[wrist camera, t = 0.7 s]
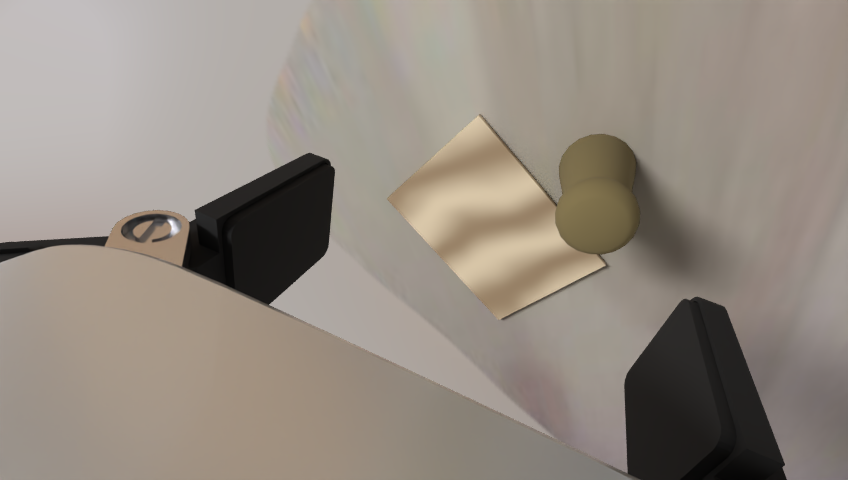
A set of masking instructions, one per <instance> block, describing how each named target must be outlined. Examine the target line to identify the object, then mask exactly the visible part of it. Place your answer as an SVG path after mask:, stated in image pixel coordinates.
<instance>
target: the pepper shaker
mask: <svg viewBox="0 0 848 480" xmlns="http://www.w3.org/2000/svg"><path fill="white" fill-rule="evenodd" d="M635 173H636V160H635V157H634V154H633V151H632V150H631V149H630V148H629V146H628V145H627V144H626V143H625V142H623V141H622V140H620V139H618V138H617V137H614V136H610V135H605V134H597V135H589V136H587V137H584V138H581V139H579V140H577V141H576V142H575V143H573V144H572V145H571V146H569V148H568V149H567V150H566V152H565V153H564V154H563V156H562V159H561V162H560V165H559V177H560V183H561V188H562V194H563V195H562V196H561V198H560V199H559V202H558V205H557V208H556V211H555V224H556V227H557V229H558V231H559V234H560V236H561V238H562V239H563V240H564V241H565V242H566V243H567V244H568V245H569V246H570V247H572V248H574V249H575V250H577V251H580V252H583V253H587V254H601V255H602V254H606V253H610V252H614V251H616V250H618V249H620V248H622V247H623V246H625V245H626V244H627V243H628V242H629V241H630V240H631V239H632V238H633V236H634V234H635V232H636V230H637V228H638V226H639V223H640V209H639V206H638V203H637V200H636V197H635V196H634V195H633V193H632V188H633V183H634V178H635Z"/></svg>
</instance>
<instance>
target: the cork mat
mask: <svg viewBox="0 0 848 480" xmlns="http://www.w3.org/2000/svg"><path fill="white" fill-rule="evenodd" d="M387 200H388V201H389V202H390V203H391V204H392V205H393V206H394V207H395V208H396V209H397V210H398V211H399V213H400V214H401V215H402V216H403V217H404V218H405V219H406V220H407V221H408V222H409V223H410V225H411V226H412V227H413V228H414V229H415V230H416V231H417V232H418V233H419V234H420V235H421V236H422V238H423V239H424V240H425V241H426V242H427V243H428V244H429V245H430V246H431V247H432V248H433V249H434V251H435V252H436V253H437V254H438V255H439V256H440V257H441V258H442V259H443V260H444V261H445V262H446V264H447V265H448V266H449V267H450V268H451V269H452V270H453V271H454V272H455V273H456V274H457V275H458V277H459V278H460V279H461V280H462V281H463V282H464V283H465V284H466V285H467V286H468V287H469V288H470V290H471V291H472V292H473V293H474V294H475V295H476V296H477V297H478V298H479V299H480V300H481V301H482V303H483V304H484V305H485V306H486V307H487V308H488V309H489V310H490V311H491V312H492V313H493V314H494V316H495V317H496V318H497V319H498V320H500V319H502V318H504V317H506V316H508V315H509V314H511V313H513V312H515V311H517V310H519V309H521V308H523V307H525V306H527V305H529V304H531V303H533V302H535V301H537V300H539V299H541V298H543V297H545V296H547V295H549V294H551V293H553V292H555V291H557V290H559V289H560V288H562V287H564V286H566V285H568V284H570V283H572V282H574V281H576V280H578V279H580V278H582V277H584V276H586V275H588V274H590V273H592V272H594V271H596V270H598V269H600V268H602V267H604V266H606V263H605V261H604V260H603V259H602V258H601V257H600V255H599V254H587V253H583V252H580V251H577V250H575V249H574V248H572V247H570V246H569V245H568V244H567V243H566V242H565V241H564V240H563V239H562V238H561V236H560V234H559V231H558V229H557V227H556V224H555V211H556V208H557V205H556V203H555V202H554V201H553V200H552V199H551V198H550V196H549V195H548V194H547V193H546V192H545V190H544V189H543V188H542V187H541V186H540V185H539V183H538V182H537V181H536V180H535V179H534V177H533V176H532V175H531V174H530V173H529V172H528V170H527V169H526V168H525V167H524V166H523V164H522V163H521V162H520V161H519V160H518V158H517V157H516V156H515V155H514V154H513V153H512V151H511V150H510V149H509V148H508V147H507V145H506V144H505V143H504V142H503V141H502V140H501V138H500V137H499V136H498V135H497V134H496V132H495V131H494V130H493V129H492V128H491V127H490V125H489V124H488V123H487V122H486V121H485V119H484V118H483V117H482V116H481V115H480V114H479V115H478V116H477V117H476V118H475V119H474V120H473V121H472V122H471V123H470V124H468V125H467V126H466V127H465V128H464V129H463V130H462V131H461V132H460V133H459V134H457V135H456V136H455V137H454V138H453V139H452V140H451V141H450V142H449V143H448V144H446V145H445V146H444V147H443V148H442V149H441V150H440V151H439V152H438V153H437V154H435V155H434V156H433V157H432V158H431V159H430V160H429V161H428V162H427V163H426V164H424V165H423V166H422V167H421V168H420V169H419V170H418V171H417V172H416V173H415V174H413V175H412V176H411V177H410V178H409V179H408V180H407V181H406V182H405V183H404V184H402V185H401V186H400V187H399V188H398V189H397V190H396V191H395V192H394V193H393V194H391V195H390V196H389V197H388V198H387Z"/></svg>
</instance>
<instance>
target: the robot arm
mask: <svg viewBox="0 0 848 480" xmlns="http://www.w3.org/2000/svg"><path fill="white" fill-rule="evenodd" d="M334 176H335V170H334V168H333V167H332V166H331V164H330V161H329V160H328V159H325V158H323V157H320V156H317V155H314V154H312V153H307V154H305V155H303V156H301V157H299V158H297V159H295V160H293V161H291V162H289V163H287V164H285V165H283V166H281V167H279V168H277V169H275V170H273V171H272V172H270V173H267V174H265V175H264V176H262V177H260V178H258V179H256V180H254V181H252V182H250V183H248V184H246V185H244V186H242V187H240V188H238V189H236V190H234V191H232V192H230V193H228V194H226V195H224V196H222V197H220V198H218V199H216V200H214V201H212V202H210V203H208V204H206V205H204V206H202V207H200V208H198V209H196V210H195V215H196V219H195V220H193V221H191V222H189V221H188V220H187V219H186V218H185V217H184V216H182V215H180V214H178V213H175V212H171V211H163V210H153V211H144V212H139V213H135V214H132V215H130V216H127V217H125V218H123V219H122V220H120V221H118V222H117V223H116V224H115V226H114V227H113V228H112V231H111V233H110V235H109V236H107V237H89V238H71V239H54V240H37V241H20V242H5V243H0V480H787V479H786V476H785V474H784V471H783V468H782V467H783V466H784V465H785V463H784V461H783V458H782V455H781V453H780V450H779V448H778V445H777V442H776V440H775V437H774V434H773V432H772V429H771V426H770V424H769V421H768V419H767V416H766V413H765V411H764V408H763V405H762V403H761V400H760V397H759V395H758V392H757V389H756V387H755V384H754V382H753V379H752V376H751V374H750V371H749V368H748V366H747V363H746V360H745V358H744V355H743V352H742V350H741V347H740V345H739V342H738V339H737V337H736V334H735V331H734V329H733V326H732V323H731V321H730V318H729V316H728V313H727V310H726V308H725V307H724V306H721V305H719V304H716V303H713V302H710V301H708V300H705V299H702V298H700V297H694V298H693V299H691V300H688V299H683V300H682V301H681V302H680V303H679V304H678V306H677V307H676V308H675V310H674V311H673V312H672V314H671V315H670V316H669V318H668V319H667V320H666V322H665V323H664V324H663V326H662V327H661V328H660V330H659V331H658V332H657V334H656V335H655V336H654V338H653V339H652V341H651V342H650V343H649V345H648V346H647V347H646V349H645V350H644V351H643V353H642V354H641V355H640V357H639V358H638V359H637V361H636V362H635V363H634V365H633V366H632V367H631V369H630V370H629V372H628V373H627V376H626V379H625V384H624V389H625V415H626V440H627V466H628V474H627V473H625V472H623V471H621V470H619V469H617V468H615V467H613V466H611V465H609V464H607V463H604V462H602V461H600V460H598V459H596V458H594V457H592V456H590V455H588V454H586V453H584V452H582V451H580V450H577V449H575V448H573V447H571V446H569V445H567V444H565V443H563V442H561V441H558V440H556V439H554V438H552V437H550V436H548V435H546V434H544V433H542V432H539V431H537V430H535V429H533V428H531V427H529V426H527V425H525V424H523V423H520V422H518V421H516V420H514V419H512V418H510V417H508V416H506V415H504V414H501V413H499V412H497V411H495V410H493V409H491V408H489V407H487V406H484V405H482V404H480V403H478V402H476V401H474V400H472V399H470V398H468V397H465V396H463V395H461V394H459V393H457V392H455V391H453V390H451V389H448V388H446V387H444V386H442V385H440V384H438V383H436V382H433V381H431V380H429V379H427V378H425V377H423V376H421V375H419V374H416V373H414V372H412V371H410V370H408V369H406V368H404V367H401V366H399V365H397V364H395V363H393V362H391V361H389V360H386V359H384V358H382V357H380V356H378V355H375V354H373V353H371V352H369V351H367V350H365V349H363V348H361V347H359V346H356V345H354V344H352V343H350V342H347V341H346V340H344V339H341V338H339V337H337V336H335V335H333V334H331V333H328V332H326V331H324V330H322V329H320V328H317V327H315V326H313V325H311V324H308V323H306V322H304V321H302V320H300V319H298V318H296V317H294V316H291V315H289V314H287V313H285V312H283V311H281V310H278V309H276V308H274V307H272V306H270V305H269V304H270V303H271V302H273V301H274V300H275V299H276V298H277V297H278V296H279V295H280V294H281V293H283V292H284V291H285V290H286V289H287V288H288V287H289V286H290V285H291V284H293V283H294V282H295V281H296V280H297V279H298V278H299V277H300V276H302V275H303V274H304V273H305V272H306V271H307V270H308V269H310V268H311V267H312V266H313V265H314V264H315V263H316V262H317V261H319V260H320V259H321V258H322V257H323V256H324V255H325V253H326V251H327V249H328V245H329V234H330V223H331V211H332V199H333V188H334Z"/></svg>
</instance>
